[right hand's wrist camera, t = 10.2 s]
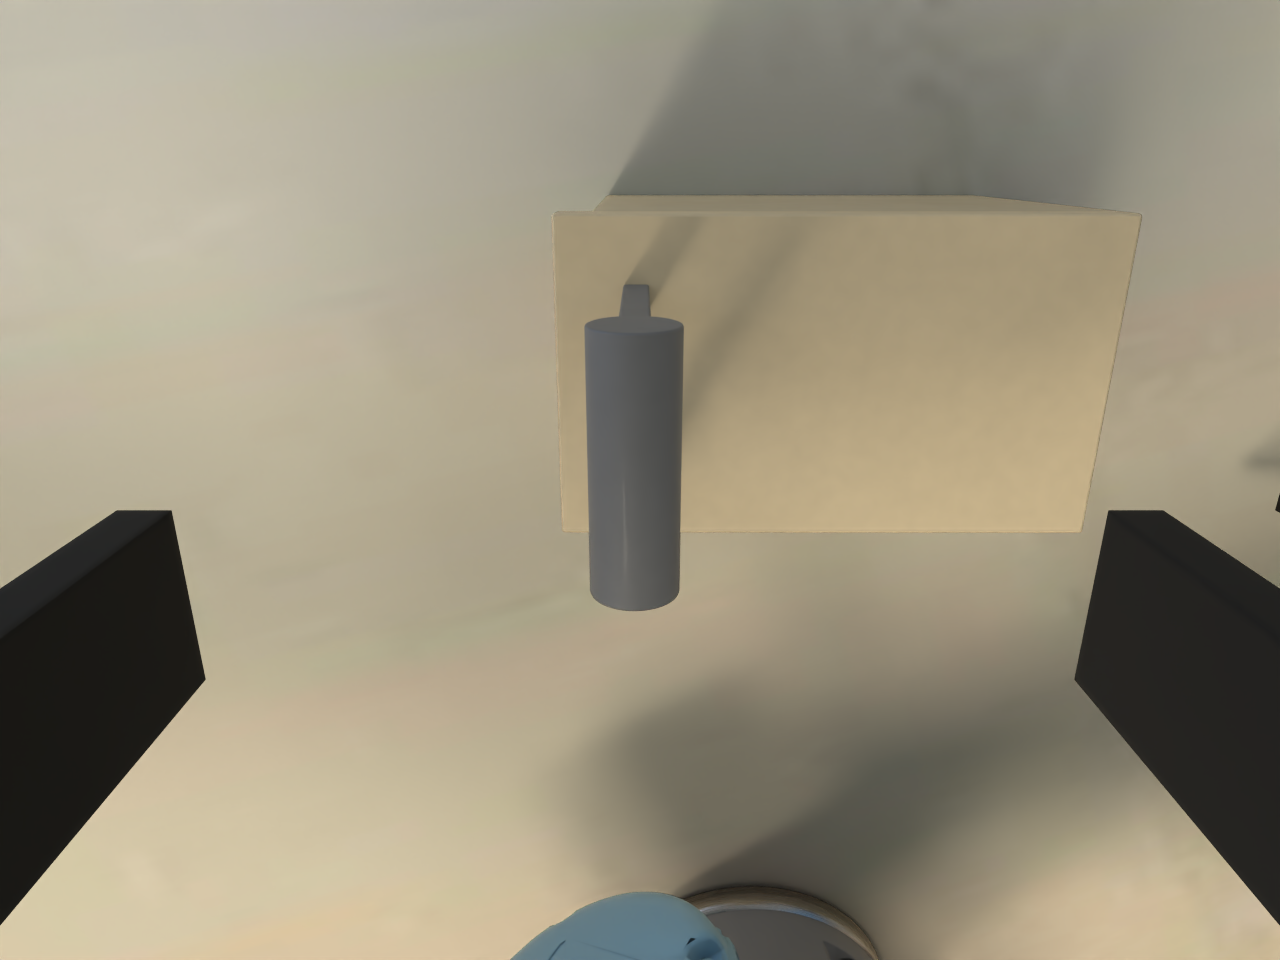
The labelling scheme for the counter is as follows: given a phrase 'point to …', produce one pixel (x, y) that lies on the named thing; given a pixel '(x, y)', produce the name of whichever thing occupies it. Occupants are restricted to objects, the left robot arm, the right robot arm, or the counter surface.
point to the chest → (824, 203)
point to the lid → (827, 375)
